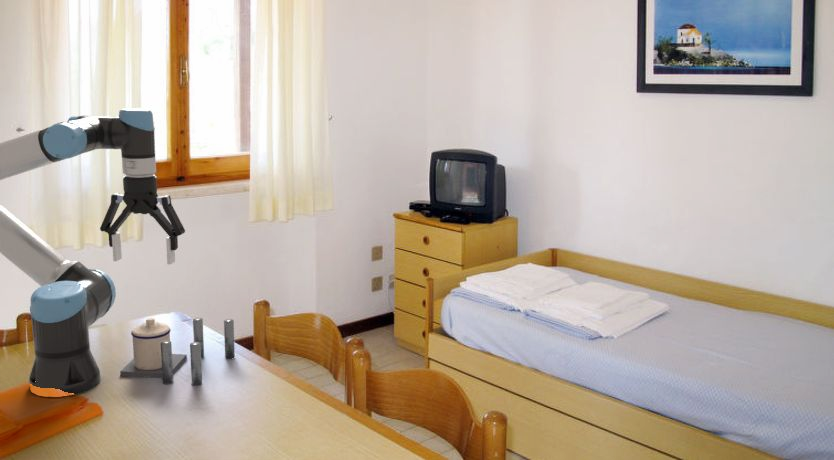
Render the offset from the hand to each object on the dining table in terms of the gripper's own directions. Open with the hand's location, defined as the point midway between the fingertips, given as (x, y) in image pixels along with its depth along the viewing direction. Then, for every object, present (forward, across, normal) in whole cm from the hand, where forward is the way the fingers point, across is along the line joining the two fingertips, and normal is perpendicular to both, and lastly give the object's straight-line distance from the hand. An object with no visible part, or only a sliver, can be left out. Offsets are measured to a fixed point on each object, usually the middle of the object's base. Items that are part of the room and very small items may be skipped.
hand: (144, 261), depth 191 cm
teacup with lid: (+25, +1, -2) cm, 25 cm away
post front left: (+26, +9, -10) cm, 30 cm away
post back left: (+26, +10, +7) cm, 29 cm away
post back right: (+26, +18, +7) cm, 33 cm away
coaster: (+26, +2, -2) cm, 27 cm away
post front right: (+26, +16, -10) cm, 32 cm away
